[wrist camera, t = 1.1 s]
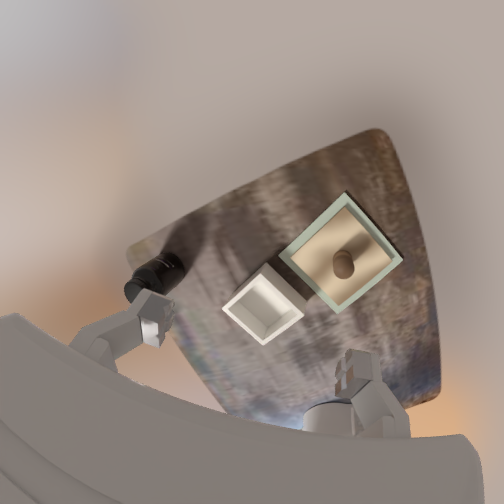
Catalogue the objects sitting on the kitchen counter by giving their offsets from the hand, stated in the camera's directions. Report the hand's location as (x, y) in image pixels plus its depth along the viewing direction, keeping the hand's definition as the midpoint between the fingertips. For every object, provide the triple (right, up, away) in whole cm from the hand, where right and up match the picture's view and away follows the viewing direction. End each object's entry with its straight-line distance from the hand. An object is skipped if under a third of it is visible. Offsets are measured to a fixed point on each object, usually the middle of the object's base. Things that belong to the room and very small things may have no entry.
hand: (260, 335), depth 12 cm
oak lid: (+14, +3, +31) cm, 35 cm away
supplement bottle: (-16, +1, +41) cm, 44 cm away
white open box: (+2, -5, +38) cm, 38 cm away
